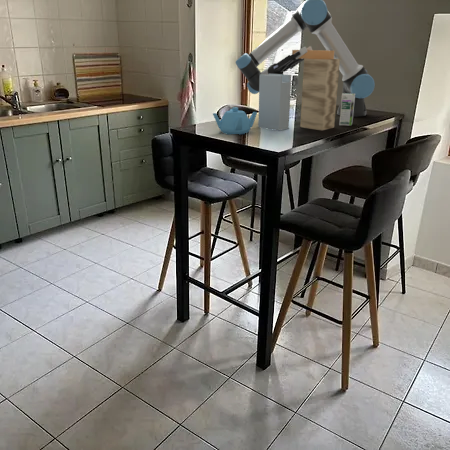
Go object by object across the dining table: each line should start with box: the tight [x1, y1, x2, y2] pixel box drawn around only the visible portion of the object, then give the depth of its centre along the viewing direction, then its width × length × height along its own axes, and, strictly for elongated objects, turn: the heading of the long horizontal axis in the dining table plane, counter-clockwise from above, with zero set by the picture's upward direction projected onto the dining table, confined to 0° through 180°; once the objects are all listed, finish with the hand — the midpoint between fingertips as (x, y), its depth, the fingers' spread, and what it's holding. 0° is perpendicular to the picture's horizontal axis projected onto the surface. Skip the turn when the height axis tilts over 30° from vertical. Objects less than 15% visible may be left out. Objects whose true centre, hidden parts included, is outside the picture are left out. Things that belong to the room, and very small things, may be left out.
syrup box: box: [338, 93, 355, 127], centre depth 218 cm, size 6×6×14 cm
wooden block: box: [300, 59, 340, 131], centre depth 209 cm, size 10×12×30 cm
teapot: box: [212, 106, 258, 135], centre depth 203 cm, size 15×15×11 cm
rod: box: [291, 49, 334, 59], centre depth 206 cm, size 4×20×4 cm, turn 46°
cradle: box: [257, 73, 292, 131], centre depth 210 cm, size 8×12×24 cm, turn 46°
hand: (308, 48), depth 207 cm, fingers closed on rod, 3 cm apart
